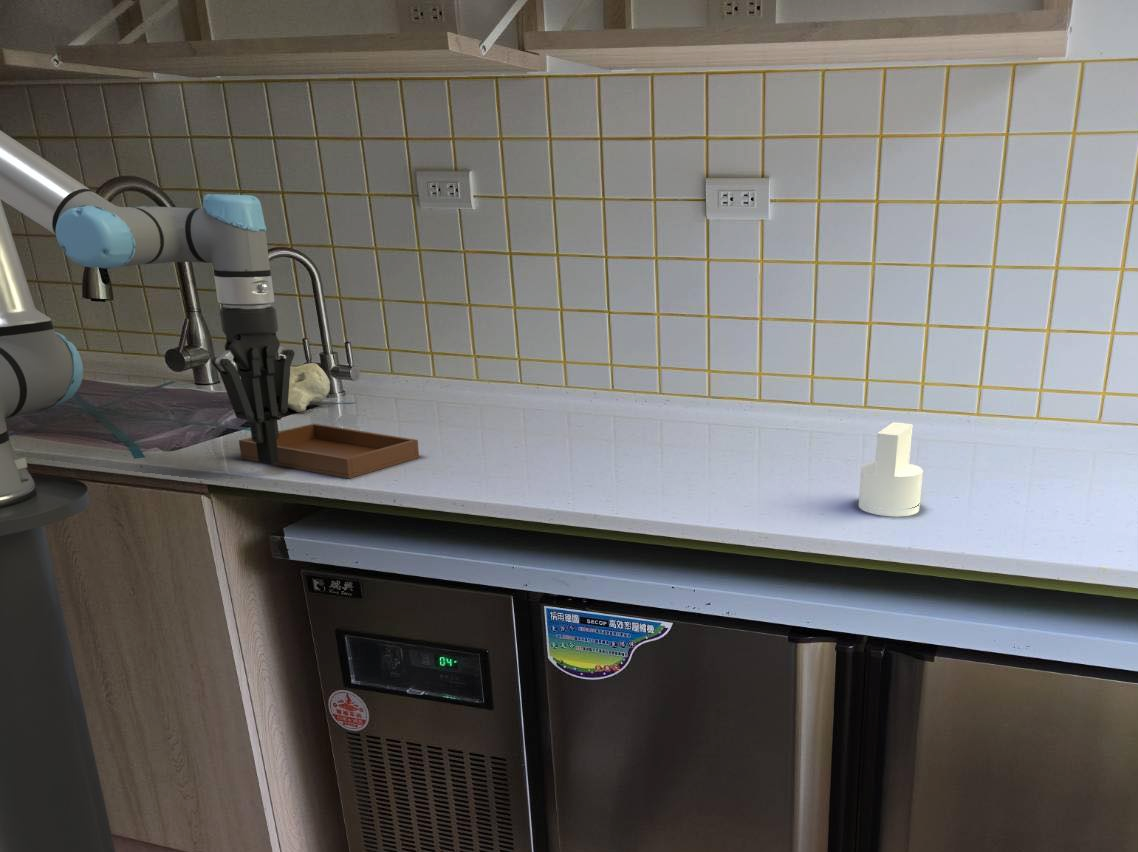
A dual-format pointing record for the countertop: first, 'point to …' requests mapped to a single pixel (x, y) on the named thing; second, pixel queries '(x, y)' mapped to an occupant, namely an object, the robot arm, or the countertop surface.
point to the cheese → (307, 386)
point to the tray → (336, 450)
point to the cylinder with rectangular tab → (891, 475)
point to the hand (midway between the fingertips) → (269, 461)
